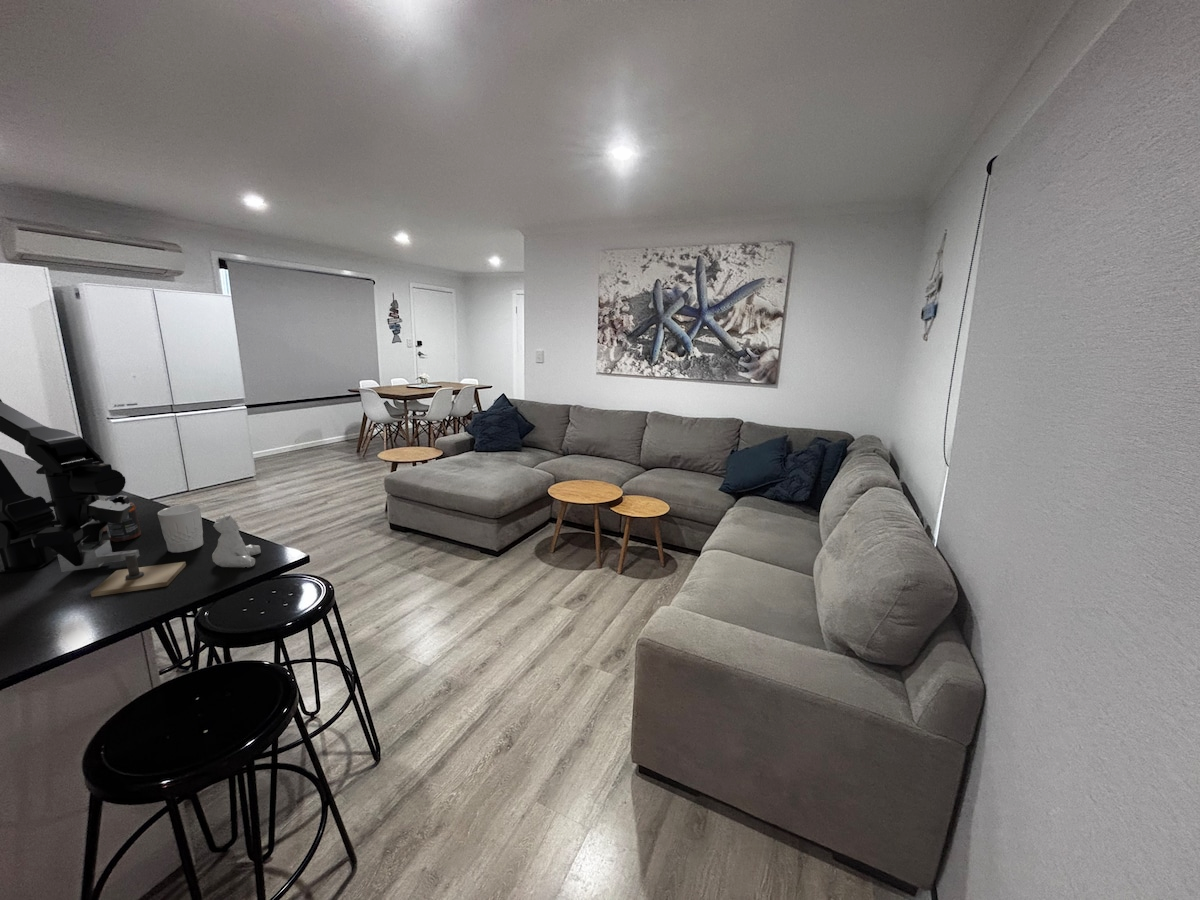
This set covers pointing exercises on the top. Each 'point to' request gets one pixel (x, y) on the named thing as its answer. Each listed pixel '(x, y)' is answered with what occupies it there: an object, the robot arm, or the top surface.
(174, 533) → the white cup
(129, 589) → the board
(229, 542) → the sitting furry creature
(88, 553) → the white handled block
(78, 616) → the top surface
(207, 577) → the top surface
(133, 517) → the supplement bottle
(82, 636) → the top surface
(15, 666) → the top surface
